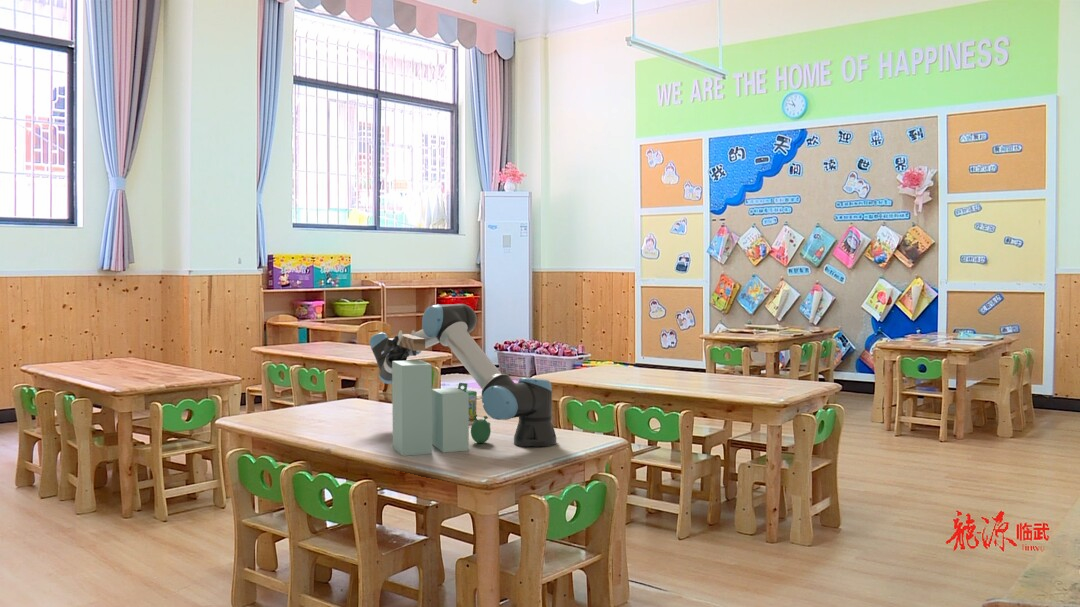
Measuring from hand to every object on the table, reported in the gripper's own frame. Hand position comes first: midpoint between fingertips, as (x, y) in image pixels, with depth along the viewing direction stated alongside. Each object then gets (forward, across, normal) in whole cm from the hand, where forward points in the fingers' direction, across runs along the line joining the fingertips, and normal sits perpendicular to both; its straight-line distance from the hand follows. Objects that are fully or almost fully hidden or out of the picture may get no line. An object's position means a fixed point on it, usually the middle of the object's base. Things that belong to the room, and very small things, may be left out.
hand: (407, 333), depth 320 cm
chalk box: (-48, -30, -17) cm, 59 cm away
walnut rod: (+2, 0, -6) cm, 7 cm away
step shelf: (-2, -3, -43) cm, 43 cm away
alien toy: (-5, -22, -42) cm, 48 cm away
